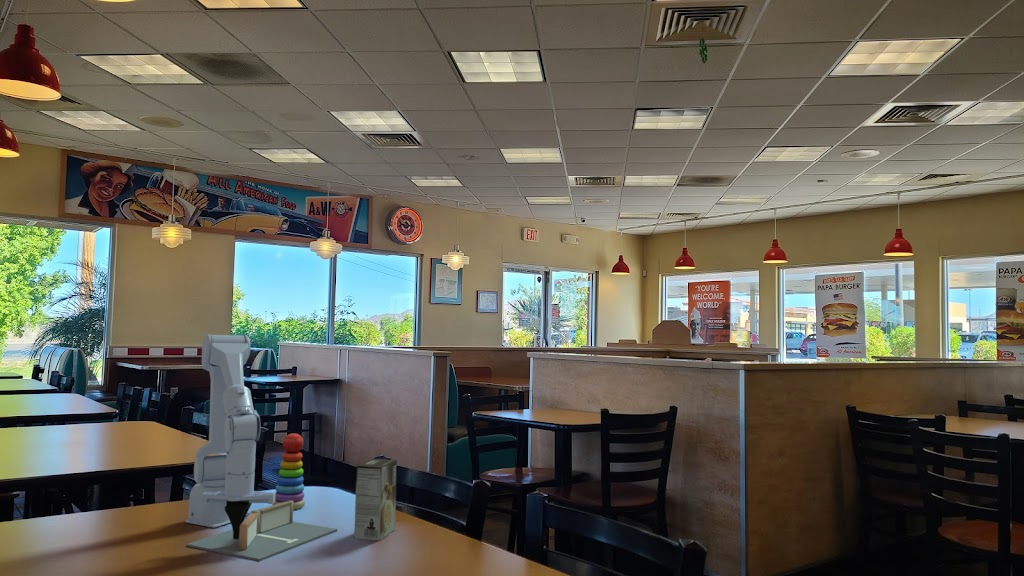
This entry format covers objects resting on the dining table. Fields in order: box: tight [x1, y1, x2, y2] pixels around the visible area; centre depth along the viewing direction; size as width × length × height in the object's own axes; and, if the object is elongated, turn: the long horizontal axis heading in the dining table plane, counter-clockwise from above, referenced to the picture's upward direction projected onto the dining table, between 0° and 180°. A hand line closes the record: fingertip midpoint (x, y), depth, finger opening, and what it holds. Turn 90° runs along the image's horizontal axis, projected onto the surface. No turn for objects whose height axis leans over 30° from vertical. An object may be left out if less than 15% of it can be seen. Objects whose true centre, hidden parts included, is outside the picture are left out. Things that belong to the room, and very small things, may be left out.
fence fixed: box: [251, 501, 294, 535], centre depth 161 cm, size 2×12×5 cm, turn 156°
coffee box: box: [353, 458, 398, 542], centre depth 160 cm, size 9×6×16 cm
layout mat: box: [186, 521, 338, 562], centre depth 154 cm, size 20×24×1 cm
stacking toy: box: [271, 432, 306, 511], centre depth 182 cm, size 8×8×19 cm
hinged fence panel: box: [239, 513, 258, 550], centre depth 149 cm, size 10×2×5 cm, turn 8°
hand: (237, 537), depth 148 cm, fingers closed
